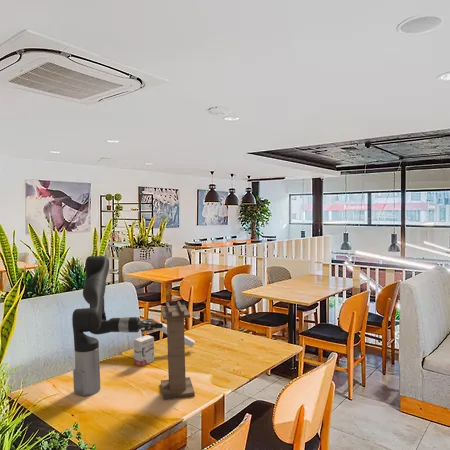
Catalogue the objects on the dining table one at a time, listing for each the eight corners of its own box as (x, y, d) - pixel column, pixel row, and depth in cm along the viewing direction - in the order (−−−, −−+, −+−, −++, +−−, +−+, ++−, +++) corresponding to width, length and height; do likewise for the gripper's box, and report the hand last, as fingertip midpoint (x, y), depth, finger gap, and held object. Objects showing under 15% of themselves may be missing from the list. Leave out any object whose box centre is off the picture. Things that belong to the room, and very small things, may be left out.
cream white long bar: (149, 324, 196) (152, 319, 196) (151, 322, 200) (154, 317, 199) (191, 348, 196) (194, 342, 196) (192, 345, 199) (195, 340, 199)
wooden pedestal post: (160, 383, 163) (158, 303, 161) (189, 379, 165) (187, 300, 164) (163, 401, 147) (160, 313, 145) (195, 397, 150) (192, 310, 148)
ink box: (141, 367, 180) (140, 341, 179) (133, 364, 183) (133, 339, 182) (155, 360, 186) (154, 336, 186) (148, 358, 190) (147, 334, 189)
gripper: (125, 321, 191) (160, 321, 191) (133, 313, 205) (165, 313, 205) (125, 336, 192) (160, 336, 191) (133, 327, 206) (166, 327, 205)
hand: (163, 324), depth 198 cm, fingers closed on cream white long bar, 3 cm apart
